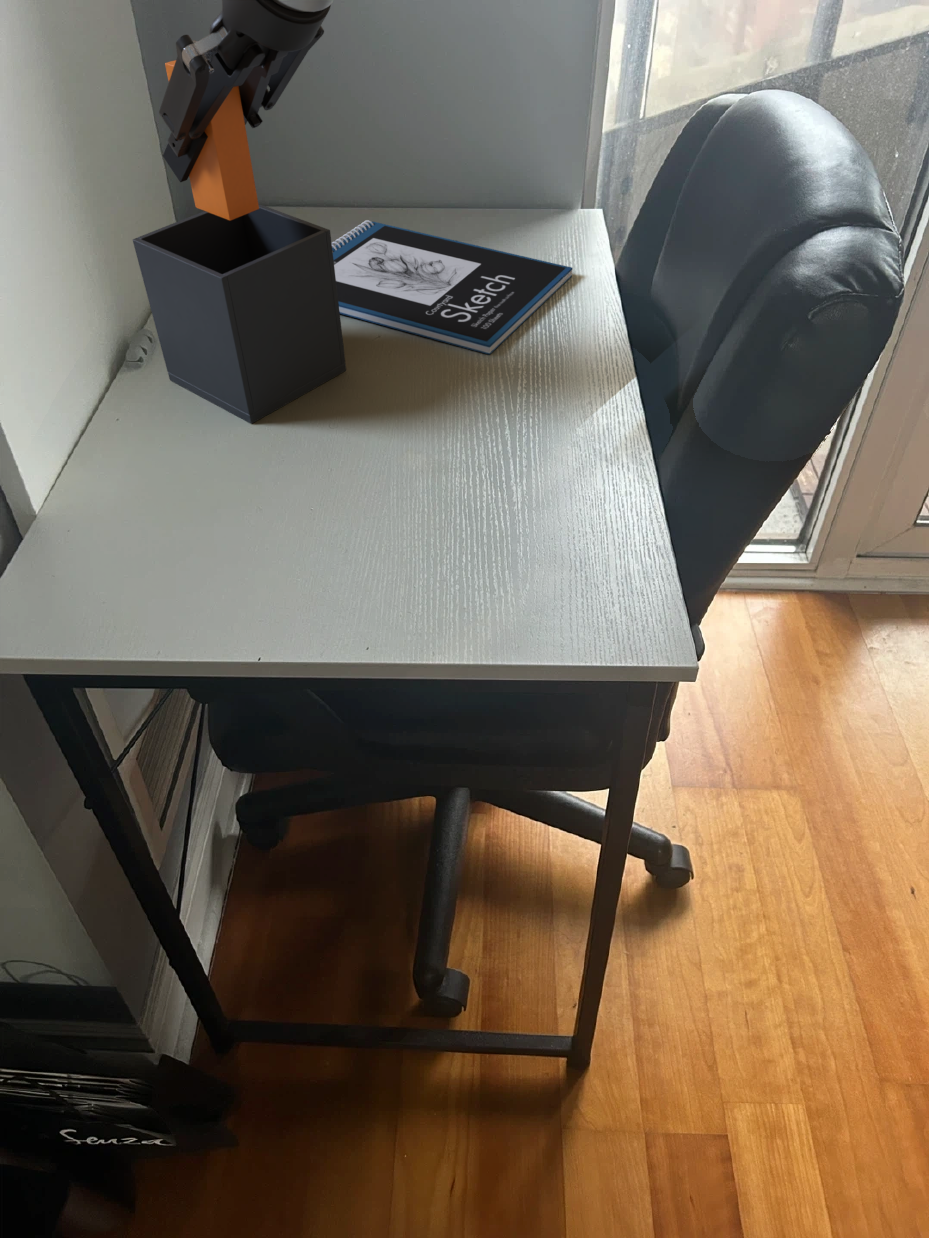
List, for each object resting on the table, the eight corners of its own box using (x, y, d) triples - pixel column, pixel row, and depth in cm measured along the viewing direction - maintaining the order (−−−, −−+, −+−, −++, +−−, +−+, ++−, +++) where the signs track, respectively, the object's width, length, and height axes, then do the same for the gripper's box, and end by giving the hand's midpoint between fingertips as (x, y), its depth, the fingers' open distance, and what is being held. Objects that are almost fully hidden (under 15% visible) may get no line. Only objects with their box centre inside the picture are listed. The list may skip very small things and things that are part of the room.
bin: (251, 424, 93) (221, 278, 83) (169, 380, 99) (132, 239, 89) (346, 370, 100) (330, 229, 90) (264, 332, 106) (240, 197, 96)
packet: (230, 221, 85) (201, 73, 77) (195, 208, 88) (164, 63, 79) (259, 209, 87) (234, 63, 79) (224, 196, 90) (197, 53, 81)
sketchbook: (490, 357, 102) (490, 339, 101) (268, 298, 113) (265, 281, 111) (572, 277, 115) (573, 260, 114) (366, 231, 126) (365, 215, 124)
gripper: (227, 42, 64) (143, 226, 83) (395, -4, 73) (284, 172, 92) (160, -61, 62) (91, 150, 82) (339, -96, 71) (238, 102, 91)
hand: (193, 161), depth 87 cm, fingers closed on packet, 3 cm apart
